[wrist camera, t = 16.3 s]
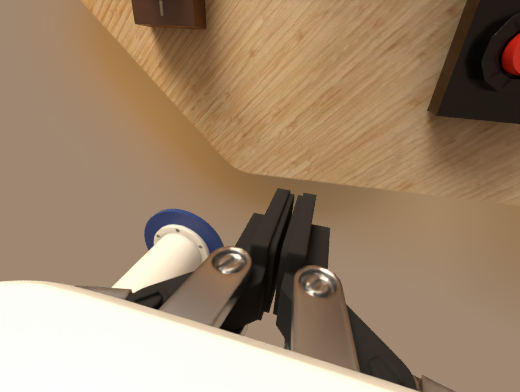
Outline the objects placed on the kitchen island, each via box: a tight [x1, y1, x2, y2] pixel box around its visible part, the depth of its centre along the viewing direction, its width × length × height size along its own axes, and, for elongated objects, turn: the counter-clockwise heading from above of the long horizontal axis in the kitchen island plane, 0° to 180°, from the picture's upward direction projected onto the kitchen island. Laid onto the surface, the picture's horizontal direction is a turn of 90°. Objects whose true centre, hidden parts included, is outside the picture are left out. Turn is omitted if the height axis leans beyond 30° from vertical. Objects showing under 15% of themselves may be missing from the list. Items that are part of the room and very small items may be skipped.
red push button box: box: [427, 0, 520, 124], centre depth 23 cm, size 12×9×5 cm
